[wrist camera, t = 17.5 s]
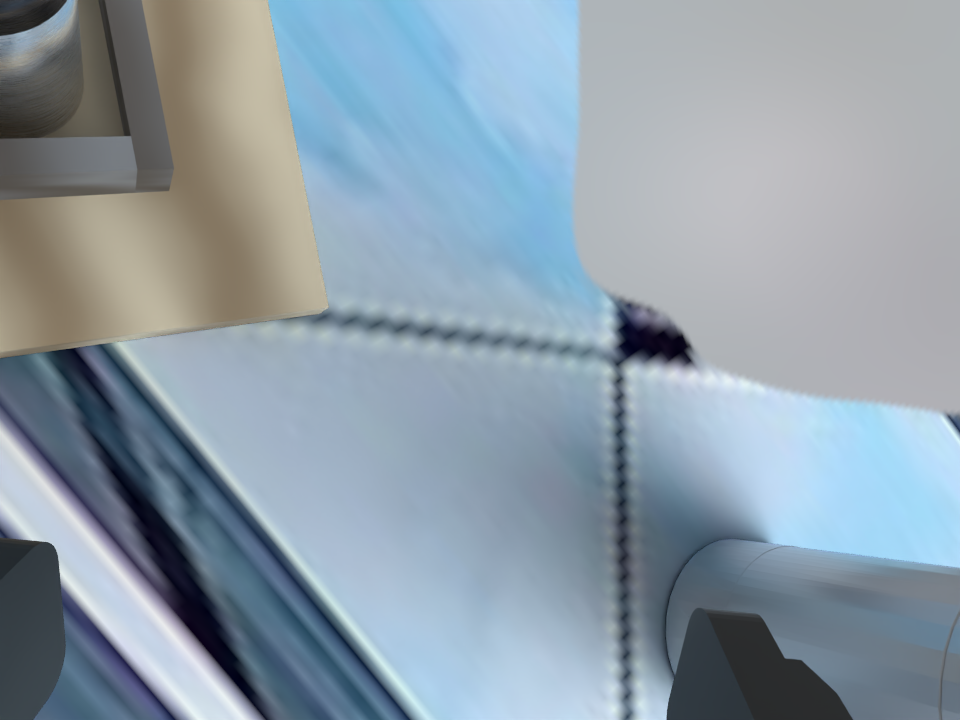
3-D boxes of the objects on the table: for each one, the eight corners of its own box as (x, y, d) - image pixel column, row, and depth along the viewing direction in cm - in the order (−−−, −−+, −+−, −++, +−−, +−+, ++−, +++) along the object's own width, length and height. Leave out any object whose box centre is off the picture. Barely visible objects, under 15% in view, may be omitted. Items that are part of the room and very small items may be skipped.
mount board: (232, -127, 32) (247, -199, 29) (319, 313, 32) (345, 295, 28) (-417, -218, 23) (-512, -340, 20) (-312, 400, 23) (-390, 390, 19)
